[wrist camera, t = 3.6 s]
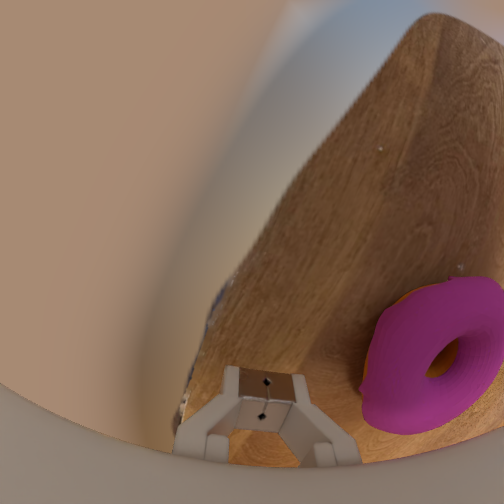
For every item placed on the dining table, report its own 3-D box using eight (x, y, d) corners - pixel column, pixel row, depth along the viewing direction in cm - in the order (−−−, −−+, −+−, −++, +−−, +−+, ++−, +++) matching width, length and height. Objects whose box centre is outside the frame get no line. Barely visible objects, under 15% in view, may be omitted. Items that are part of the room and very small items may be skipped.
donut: (497, 260, 13) (543, 289, 9) (454, 382, 16) (480, 420, 12) (363, 267, 13) (407, 314, 9) (335, 409, 16) (351, 463, 12)
